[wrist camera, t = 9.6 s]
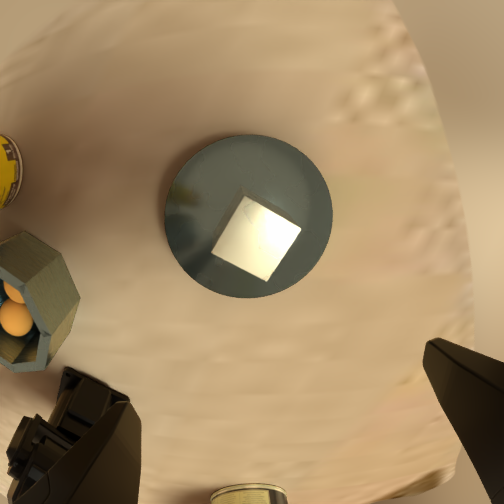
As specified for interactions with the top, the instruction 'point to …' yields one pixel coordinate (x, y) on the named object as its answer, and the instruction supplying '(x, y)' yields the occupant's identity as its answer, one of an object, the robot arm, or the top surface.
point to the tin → (36, 301)
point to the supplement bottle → (9, 170)
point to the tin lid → (248, 216)
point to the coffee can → (250, 495)
